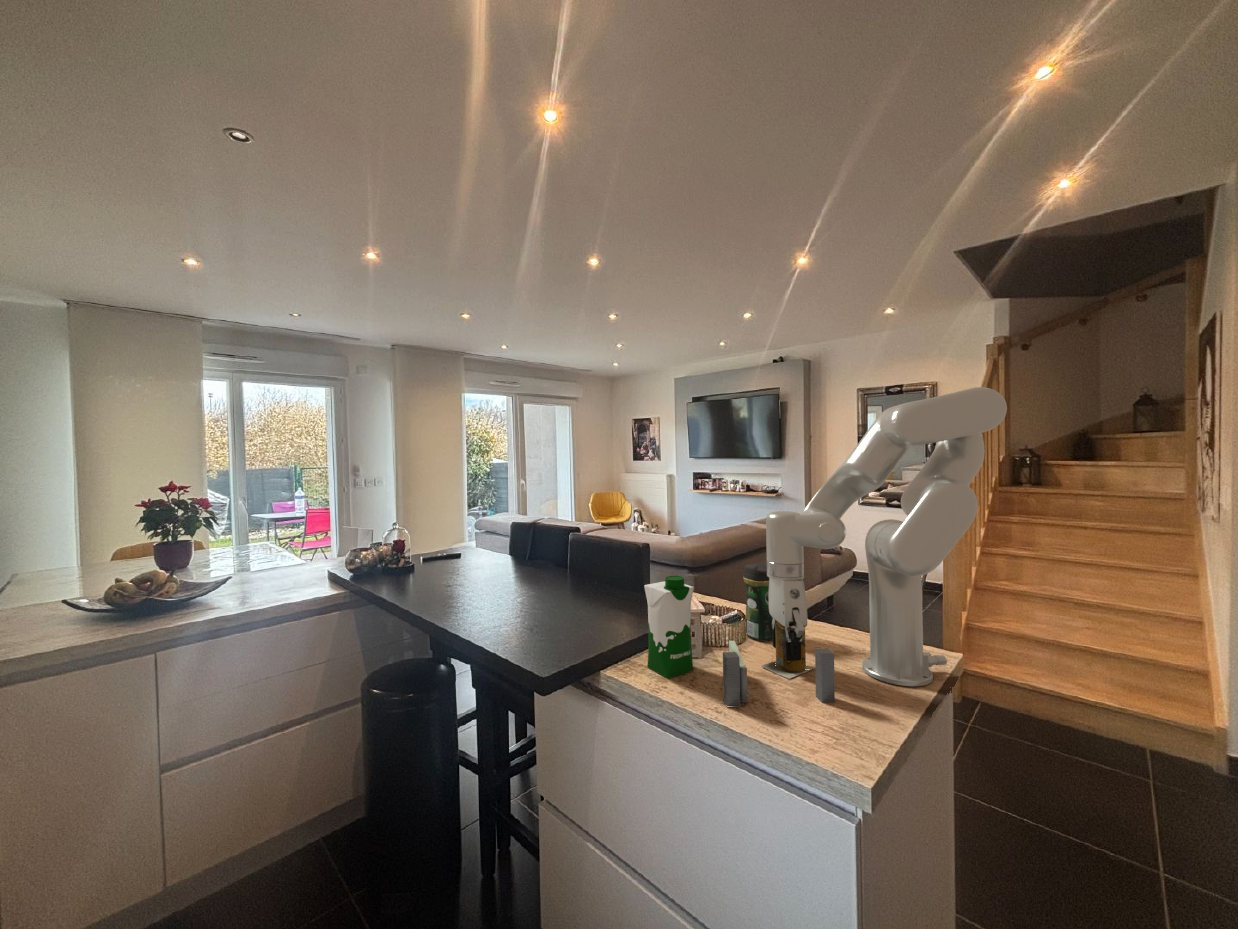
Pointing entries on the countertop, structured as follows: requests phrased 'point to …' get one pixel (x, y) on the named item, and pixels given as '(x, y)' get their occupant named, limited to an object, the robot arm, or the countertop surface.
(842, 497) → the robot arm
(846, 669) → the countertop surface
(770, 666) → the condiment
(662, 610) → the milk carton
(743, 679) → the panel
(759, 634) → the coffee jar
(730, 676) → the gate posts
